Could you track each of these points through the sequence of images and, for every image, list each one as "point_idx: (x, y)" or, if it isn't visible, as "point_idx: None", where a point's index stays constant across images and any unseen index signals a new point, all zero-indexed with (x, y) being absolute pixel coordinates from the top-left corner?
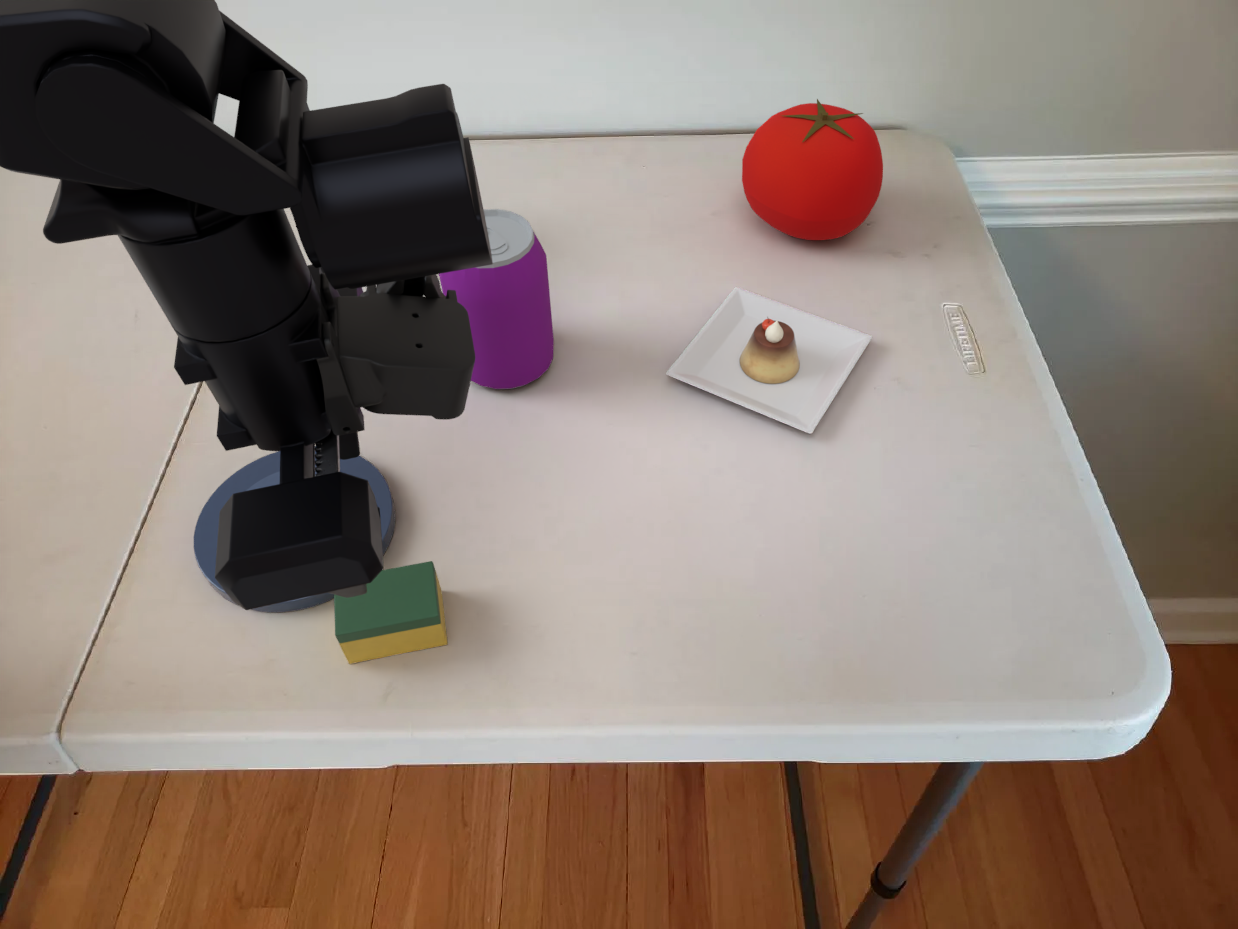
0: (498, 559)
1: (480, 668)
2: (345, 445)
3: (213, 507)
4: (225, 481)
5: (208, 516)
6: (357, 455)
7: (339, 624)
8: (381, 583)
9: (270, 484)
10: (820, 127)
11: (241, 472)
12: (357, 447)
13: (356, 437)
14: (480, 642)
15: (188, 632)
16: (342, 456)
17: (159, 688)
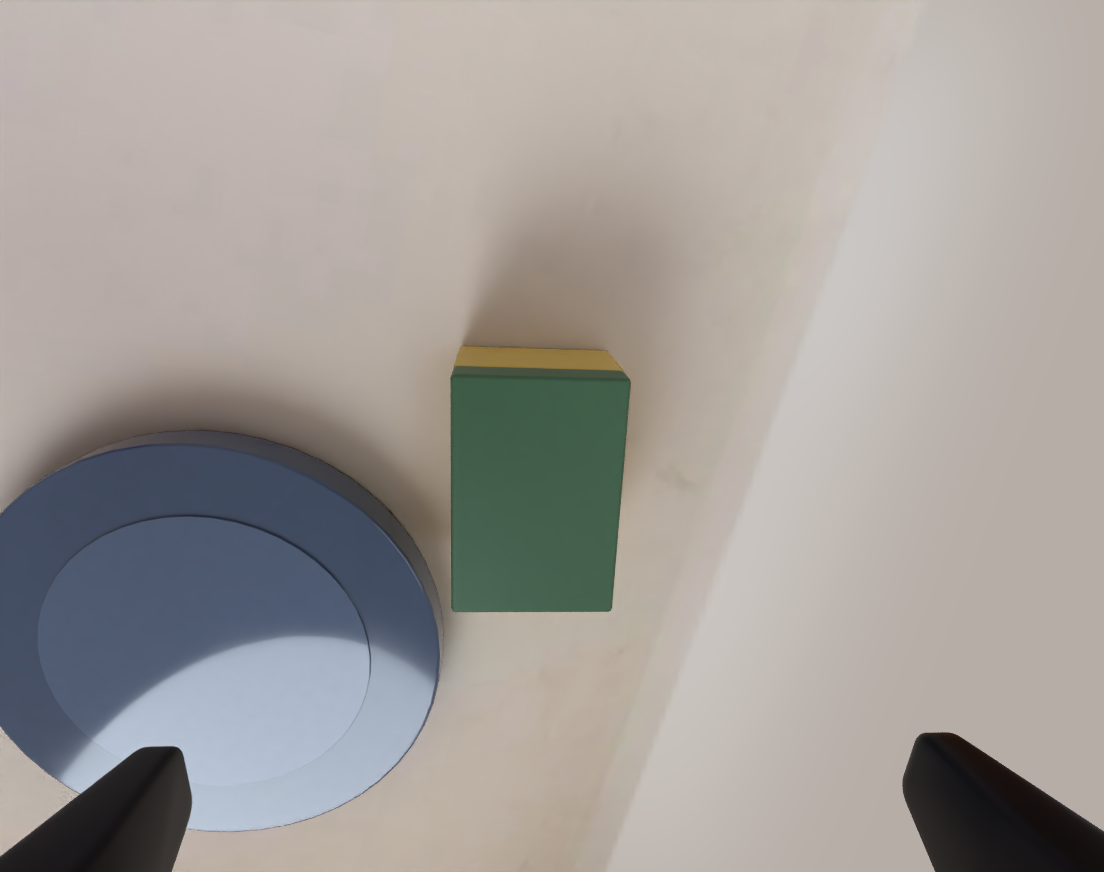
0: (395, 188)
1: (685, 286)
2: (136, 868)
3: None
4: (77, 790)
5: None
6: (177, 758)
7: (584, 602)
8: (494, 508)
9: (94, 708)
10: None
11: (50, 763)
12: (145, 797)
13: (92, 856)
14: (621, 276)
15: (446, 800)
16: (181, 822)
17: (547, 828)
